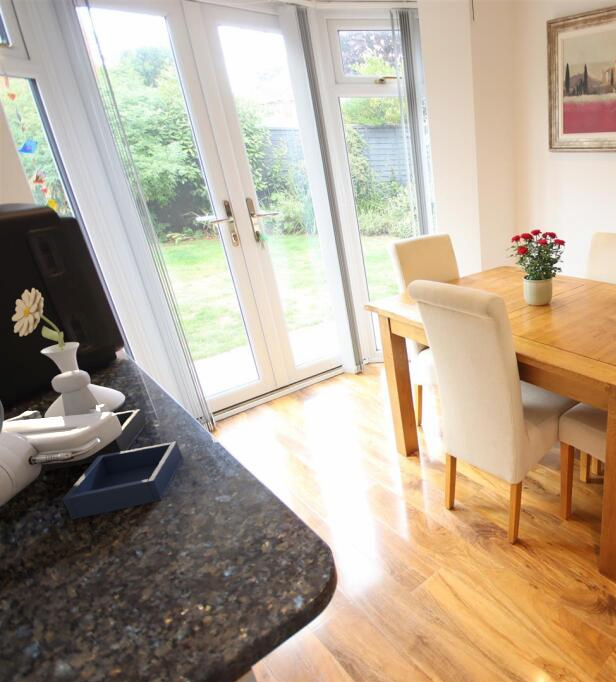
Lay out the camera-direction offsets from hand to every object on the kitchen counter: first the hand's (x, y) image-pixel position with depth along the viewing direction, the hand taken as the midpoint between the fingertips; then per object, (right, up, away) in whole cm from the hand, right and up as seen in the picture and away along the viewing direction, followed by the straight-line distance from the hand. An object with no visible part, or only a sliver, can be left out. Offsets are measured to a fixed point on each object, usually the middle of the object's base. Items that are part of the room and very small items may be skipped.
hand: (70, 411), depth 71 cm
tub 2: (+14, -10, -5) cm, 18 cm away
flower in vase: (-10, -3, +14) cm, 18 cm away
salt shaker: (0, -6, +5) cm, 8 cm away
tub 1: (0, -7, +5) cm, 8 cm away
